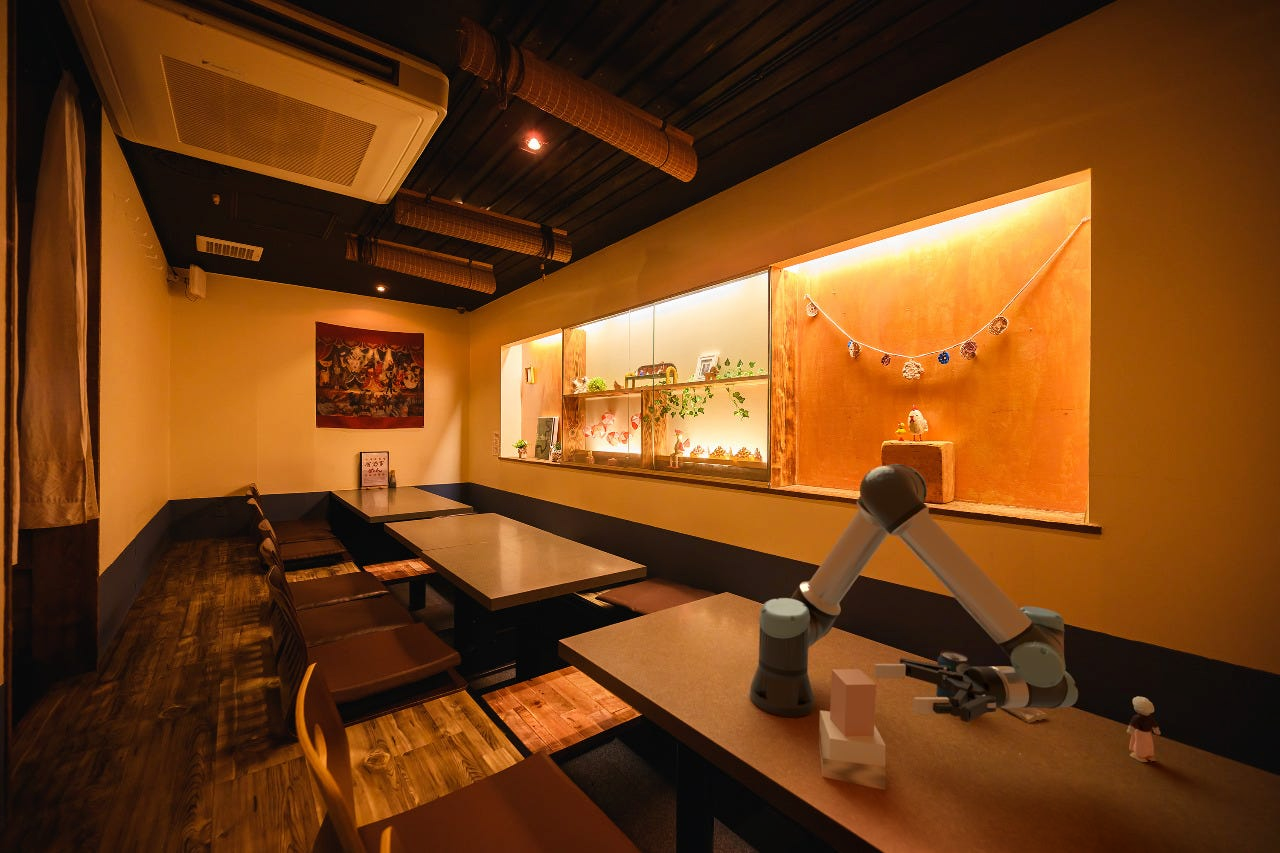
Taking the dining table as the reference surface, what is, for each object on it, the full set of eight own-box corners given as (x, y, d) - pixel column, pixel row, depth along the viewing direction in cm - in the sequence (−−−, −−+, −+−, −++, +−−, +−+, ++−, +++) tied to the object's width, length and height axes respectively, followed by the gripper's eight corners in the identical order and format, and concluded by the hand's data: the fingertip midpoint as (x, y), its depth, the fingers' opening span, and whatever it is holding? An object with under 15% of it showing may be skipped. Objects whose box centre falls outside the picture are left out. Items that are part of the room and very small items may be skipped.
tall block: (844, 736, 97) (846, 684, 97) (829, 718, 103) (831, 669, 103) (873, 735, 98) (875, 684, 98) (857, 717, 104) (859, 669, 104)
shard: (982, 701, 128) (983, 694, 128) (1004, 697, 131) (1005, 690, 131) (1027, 725, 118) (1027, 717, 118) (1050, 720, 120) (1050, 713, 120)
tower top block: (829, 759, 96) (829, 738, 96) (819, 729, 106) (819, 710, 106) (884, 766, 95) (885, 745, 95) (869, 735, 105) (870, 716, 105)
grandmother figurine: (1140, 749, 109) (1141, 690, 110) (1163, 760, 106) (1165, 699, 106) (1118, 756, 107) (1120, 695, 107) (1141, 767, 103) (1143, 705, 103)
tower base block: (822, 779, 97) (823, 758, 97) (818, 745, 107) (819, 726, 107) (885, 792, 94) (886, 770, 94) (875, 756, 104) (875, 736, 104)
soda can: (974, 713, 121) (975, 663, 122) (942, 709, 123) (944, 659, 123) (961, 698, 128) (963, 651, 128) (932, 695, 130) (933, 648, 130)
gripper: (1047, 743, 90) (933, 744, 89) (950, 675, 115) (861, 675, 113) (1048, 701, 90) (935, 701, 89) (951, 642, 115) (862, 642, 114)
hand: (893, 687), depth 101 cm, fingers open, 13 cm apart
